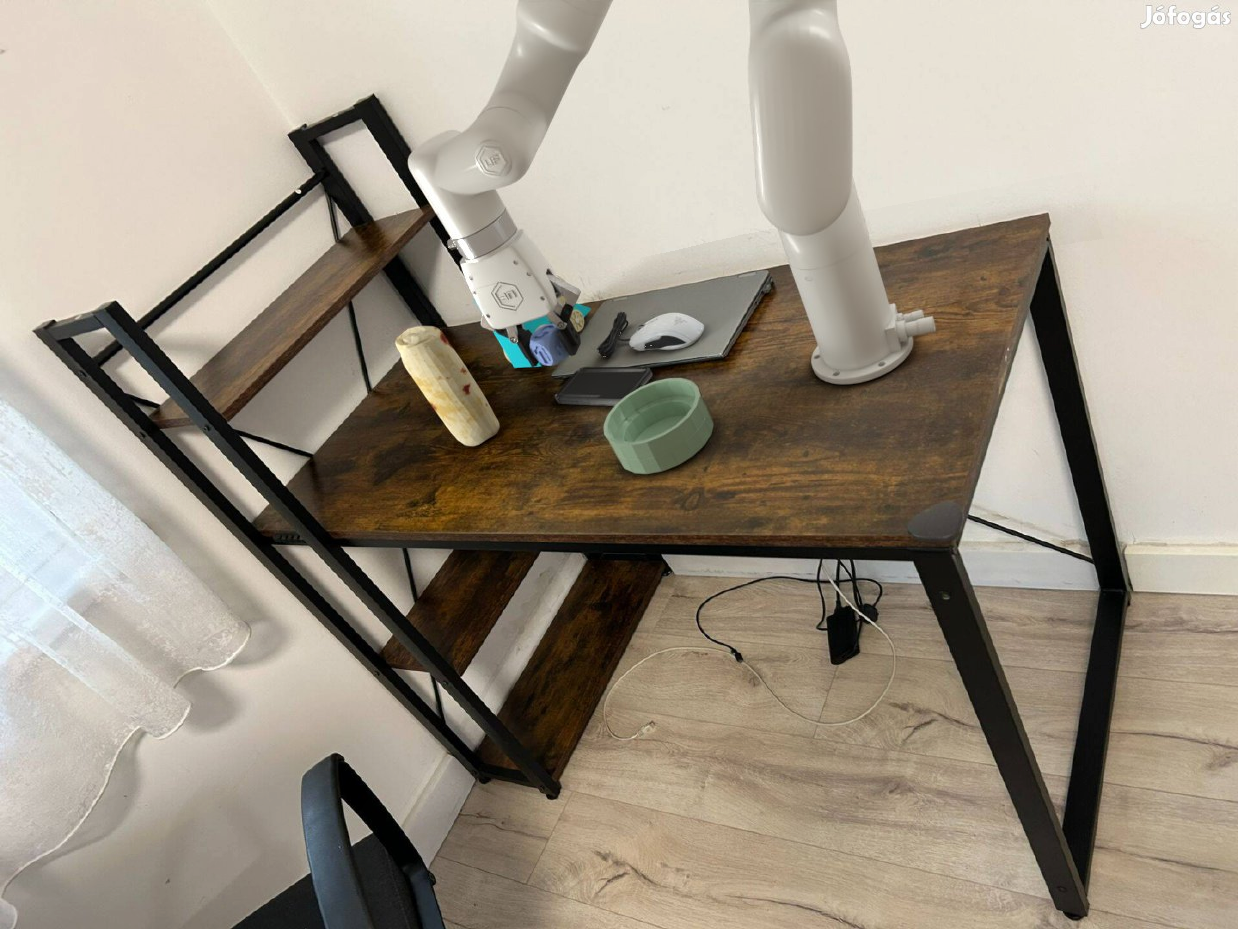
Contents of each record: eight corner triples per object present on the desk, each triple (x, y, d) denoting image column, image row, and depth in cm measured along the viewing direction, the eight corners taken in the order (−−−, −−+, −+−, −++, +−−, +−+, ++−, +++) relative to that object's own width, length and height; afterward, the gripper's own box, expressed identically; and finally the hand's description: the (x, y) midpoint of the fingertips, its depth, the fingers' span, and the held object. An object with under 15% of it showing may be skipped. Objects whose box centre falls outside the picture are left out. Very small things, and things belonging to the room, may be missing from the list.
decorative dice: (538, 365, 116) (524, 341, 114) (557, 347, 118) (543, 323, 115) (558, 366, 113) (543, 341, 111) (576, 347, 115) (562, 322, 113)
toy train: (597, 312, 154) (559, 238, 146) (547, 370, 145) (503, 294, 137) (564, 315, 159) (525, 244, 151) (513, 372, 150) (470, 299, 142)
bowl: (722, 401, 116) (707, 369, 113) (705, 467, 106) (689, 433, 103) (633, 420, 122) (617, 389, 119) (610, 484, 112) (592, 452, 109)
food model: (513, 420, 137) (447, 315, 126) (490, 449, 133) (420, 343, 122) (469, 422, 142) (403, 322, 132) (447, 450, 138) (376, 348, 128)
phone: (579, 366, 138) (652, 366, 128) (582, 372, 139) (655, 372, 129) (551, 398, 134) (624, 400, 124) (554, 404, 135) (627, 406, 125)
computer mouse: (691, 354, 129) (681, 332, 126) (595, 363, 140) (584, 343, 137) (717, 315, 134) (708, 293, 132) (622, 326, 145) (612, 306, 143)
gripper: (419, 271, 107) (495, 386, 116) (535, 228, 99) (605, 356, 108) (443, 241, 112) (513, 354, 122) (554, 199, 104) (620, 323, 114)
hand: (556, 354), depth 115 cm, fingers closed on decorative dice, 5 cm apart
